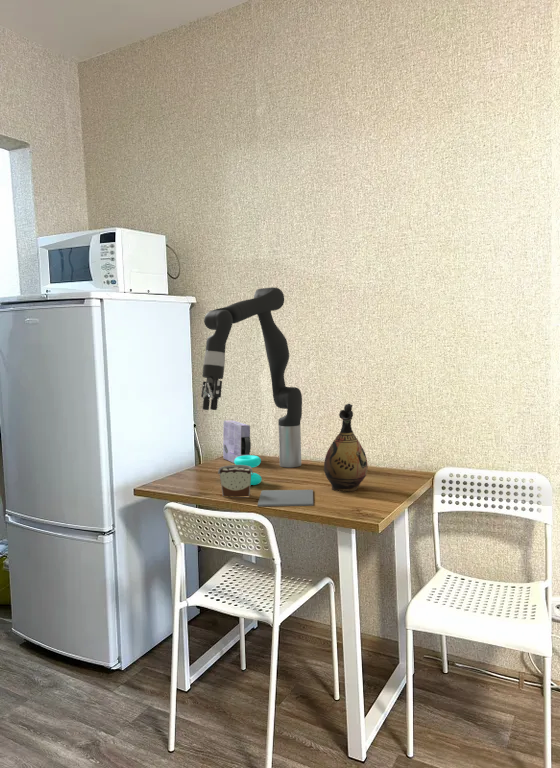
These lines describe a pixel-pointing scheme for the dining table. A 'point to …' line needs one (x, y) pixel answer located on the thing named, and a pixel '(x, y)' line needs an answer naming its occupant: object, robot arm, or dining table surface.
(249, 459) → the donuts
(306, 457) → the dining table surface
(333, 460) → the ceramic jug
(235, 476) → the food container
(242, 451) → the cake pan box
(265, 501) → the mat
